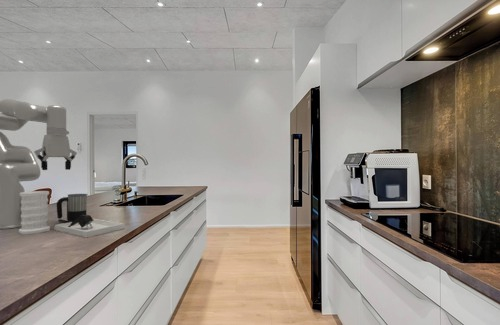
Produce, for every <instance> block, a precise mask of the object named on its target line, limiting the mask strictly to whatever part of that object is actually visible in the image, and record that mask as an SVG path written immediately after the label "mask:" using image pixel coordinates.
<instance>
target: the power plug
mask: <svg viewBox="0 0 500 325" xmlns="http://www.w3.org/2000/svg"><path fill="white" fill-rule="evenodd" d="M92 218H93V217H92V216H91V215H89V214H86V215H81V216H79V217H78V218H77V219H75V220H74V221H73V222H72V223H71V224H70V226H68V227H71V226H73V225H75V224H77V223H79V225H80V226H81V227H85V226H86V227H87V228H88V229H90V228H89V226H88V224H89V225H90V227H91V228H93V226H92V225H91V222H92V221H94V220H93V219H94V218H93V219H92Z"/></svg>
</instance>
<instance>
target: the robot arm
mask: <svg viewBox="0 0 500 325" xmlns="http://www.w3.org/2000/svg"><path fill="white" fill-rule="evenodd" d="M29 121H30V122H37V123H44V124H46V134H44V135H43V140H42V144H41V148H39V149H37V150H34V152H32V150H31V149H30V148H28V147H26V146H21V145H13V144H12V143H11V141H10V140H9V138H8V137H7V136H6V135H5V134H4V133H3V132H2V131H13V132H15V131H18V130H21V129H22V128H23V127H24V126H25V125H26V124H27V123H28V122H29ZM0 130H1V131H0V230H5V229H6V230H7V229H15V228H16V229H17V228H22V225H21V221H22V218H21V214H22V211H21V207H22V204H21V200H22V196H20V193H21V192H26V191H25V188H24V186H23V185H22V184H21V182H31V181H32V182H34V181H36V180H38V179H39V178H40V177H41V169H42V171H47V170H48V161H47V160H48V159H49V158H64V160H66V161H64V164H65V165H64V166H65V167H64V168H65V170H71V168H72V161H73V160H74V159H75V157H76V155H77V153H78V152H77V151H75V150H73V149H71V148H70V147H71V146H70V142H69V141H70V140H69V137H68V135H69V134H70V131H67V109H66V107H64V106H62V105H48V106H44V105H37V104H32V103H29V102H27V101H22V100H15V99H7V98H6V99H2V100H0ZM35 156H36V157H35ZM36 158H37V159H39V161H40V163H41V164H40V165H39V163H38V161H37V159H36ZM40 167H41V168H40Z"/></svg>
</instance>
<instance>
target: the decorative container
mask: <svg viewBox="0 0 500 325" xmlns="http://www.w3.org/2000/svg"><path fill="white" fill-rule="evenodd" d="M49 195H50V191H48V190H34V191H33V190H32V191H25V192H21V193H20V196H22V200H21V204H22V207H21V211H22V214H21V218H22V221H21V225H22V227H20V229H18V234H20V235H30V234H31V235H34V234H39V233H44V232H45V233H46V232H48V231H50V230H51V225H48V223H49V219H48V216H49V211H48V209H49V205H48V202H49V198H48V196H49Z"/></svg>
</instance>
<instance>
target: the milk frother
mask: <svg viewBox="0 0 500 325" xmlns="http://www.w3.org/2000/svg"><path fill="white" fill-rule="evenodd" d="M87 197H88V193H70V194H67V196H64V197H61V198H59V199H58V200H57V202H56V214H57V219H58V220H57V221H58V222H59V223H60V224H64V223H69V222H73V221H74V220H75V219H77V218H78V217H79V216H81V215H87V204H88V203H87V199H88V198H87ZM63 202H66V219H62V218H63Z"/></svg>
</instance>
